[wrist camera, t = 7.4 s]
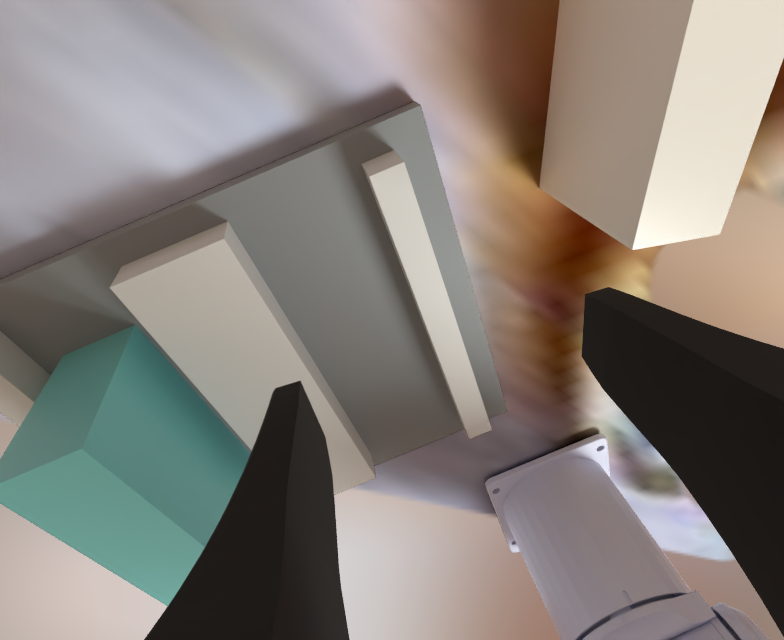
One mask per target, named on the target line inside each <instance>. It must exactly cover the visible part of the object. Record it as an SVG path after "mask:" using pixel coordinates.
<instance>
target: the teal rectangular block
mask: <svg viewBox="0 0 784 640" xmlns="http://www.w3.org/2000/svg"><path fill="white" fill-rule="evenodd" d="M249 456H250V453H249V452H248V450H247V449H246V448H245V447H244V446H243V445H242V444H241V443H240V442H239V440H238V439H237V438H236V437H235V436H234V435H233V434H232V433H231V431H230V430H229V429H228V428H227V427H226V426H225V425H224V424H223V422H222V421H221V420H220V419H219V418H218V417H217V416H216V415H215V413H214V412H213V411H212V410H211V409H210V408H209V407H208V406H207V405H206V403H205V402H204V401H203V400H202V399H201V398H200V397H199V396H198V394H197V393H196V392H195V391H194V390H193V389H192V388H191V387H190V385H189V384H188V383H187V382H186V381H185V380H184V379H183V378H182V376H181V375H180V374H179V373H178V372H177V371H176V370H175V369H174V367H173V366H172V365H171V364H170V363H169V362H168V361H167V360H166V359H165V357H164V356H163V355H162V354H161V353H160V352H159V351H158V350H157V348H156V347H155V346H154V345H153V344H152V343H151V342H150V341H149V339H148V338H147V337H146V336H145V335H144V334H143V333H142V332H141V330H140V329H139V328H138V327H137V326H136V325H133V326H131V327H129V328H126V329H124V330H122V331H119V332H117V333H115V334H112V335H110V336H108V337H105V338H103V339H101V340H98V341H96V342H94V343H91V344H89V345H87V346H84V347H82V348H80V349H77V350H75V351H73V352H70V353H68V354H66V355H63V356H62V358H61V359H60V361H59V363H58V364H57V366H56V368H55V369H54V371H53V373H52V374H51V376H50V378H49V379H48V381H47V383H46V384H45V386H44V388H43V389H42V391H41V393H40V394H39V396H38V398H37V399H36V401H35V403H34V404H33V406H32V408H31V409H30V411H29V413H28V414H27V416H26V418H25V419H24V421H23V422H22V424H21V426H20V427H19V429H18V431H17V433H16V434H15V436H14V438H13V439H12V441H11V443H10V444H9V446H8V447H7V449H6V451H5V452H4V454H3V456H2V458H1V459H0V504H2V505H4V506H5V507H7V508H9V509H10V510H12V511H13V512H15V513H17V514H18V515H20V516H22V517H23V518H25V519H27V520H28V521H30V522H31V523H33V524H35V525H36V526H38V527H40V528H41V529H43V530H44V531H46V532H48V533H49V534H51V535H53V536H55V537H56V538H58V539H59V540H61V541H62V542H64V543H66V544H67V545H69V546H71V547H72V548H74V549H75V550H77V551H79V552H80V553H82V554H84V555H85V556H87V557H89V558H90V559H92V560H94V561H95V562H97V563H98V564H100V565H101V566H103V567H105V568H106V569H108V570H110V571H111V572H113V573H115V574H116V575H118V576H120V577H121V578H123V579H124V580H126V581H128V582H129V583H131V584H133V585H134V586H136V587H137V588H139V589H141V590H142V591H144V592H146V593H147V594H149V595H150V596H152V597H154V598H155V599H157V600H159V601H160V602H162V603H163V604H165V605H167V606H168V605H169V604H170V602H171V601H172V599H173V598H174V596H175V595H176V593H177V592H178V590H179V589H180V587H181V586H182V584H183V582H184V581H185V579H186V577H187V576H188V574H189V573H190V571H191V569H192V568H193V566H194V564H195V563H196V561H197V560H198V558H199V556H200V555H201V553H202V551H203V550H204V548H205V546H206V544H207V542H208V541H209V539H210V537H211V535H212V534H213V532H214V530H215V528H216V526H217V524H218V523H219V521H220V519H221V517H222V515H223V513H224V511H225V509H226V507H227V505H228V503H229V501H230V499H231V496H232V494H233V492H234V490H235V488H236V486H237V484H238V481H239V479H240V477H241V475H242V473H243V471H244V468H245V466H246V464H247V461H248V459H249Z"/></svg>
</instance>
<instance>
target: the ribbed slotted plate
mask: <svg viewBox="0 0 784 640" xmlns="http://www.w3.org/2000/svg"><path fill="white" fill-rule="evenodd" d="M133 325H136V326H137V327H138V328H139V329H140V330H141V332H142V333H143V334H144V335H145V336H146V337H147V338H148V339H149V341H150V342H151V343H152V344H153V345H154V346H155V347H156V348H157V350H158V351H159V352H160V353H161V354H162V355H163V356H164V357H165V359H166V360H167V361H168V362H169V363H170V364H171V365H172V366H173V367H174V369H175V370H176V371H177V372H178V373H179V374H180V375H181V376H182V378H183V379H184V380H185V381H186V382H187V383H188V384H189V385H190V387H191V388H192V389H193V390H194V391H195V392H196V393H197V394H198V396H199V397H200V398H201V399H202V400H203V401H204V402H205V403H206V405H207V406H208V407H209V408H210V409H211V410H212V411H213V412H214V413H215V415H216V416H217V417H218V418H219V419H220V420H221V421H222V422H223V424H224V425H225V426H226V427H227V428H228V429H229V430H230V431H231V433H232V434H233V435H234V436H235V437H236V438H237V439H238V440H239V442H240V443H241V444H242V445H243V446H244V447H245V448H246V449H247V450H248V452H249V453H250V454H251V451H252V449H253V446H254V444H255V441H256V439H257V436H258V434H259V431H260V428H261V425H262V423H263V420H264V417H265V414H266V411H267V408H268V405H269V402H270V399H271V396H272V393H273V391H274V390H275V388H277V387H281V386H284V385H287V384H291V383H294V382H297V381H301V383H302V385H303V387H304V390H305V392H306V394H307V396H308V399H309V401H310V403H311V405H312V408H313V410H314V412H315V414H316V417H317V419H318V421H319V423H320V426H321V428H322V430H323V432H324V435H325V438H326V443H327V448H328V453H329V458H330V464H331V470H332V476H333V489H334V495H335V494H338V493H340V492H343V491H345V490H348V489H350V488H352V487H355V486H357V485H360V484H362V483H365V482H367V481H369V480H372V479H374V478H376V475H375V470H374V466H376V465H378V464H380V463H383V462H385V461H388V460H390V459H392V458H395V457H397V456H400V455H402V454H405V453H407V452H409V451H412V450H414V449H417V448H419V447H422V446H424V445H426V444H429V443H431V442H434V441H436V440H438V439H441V438H443V437H446V436H448V435H451V434H453V433H455V432H458V431H460V430H463V429H465V431H466V433H467V435H468V437H469V439H471V438H474V437H476V436H478V435H481V434H483V433H486V432H488V431H490V430H492V428H491V425H490V422H489V418H492V417H494V416H496V415H499V414H501V413H504V412H506V411H507V408H506V404H505V401H504V397H503V394H502V390H501V387H500V383H499V380H498V376H497V373H496V369H495V366H494V362H493V358H492V355H491V351H490V348H489V344H488V341H487V337H486V334H485V330H484V327H483V323H482V320H481V316H480V313H479V309H478V306H477V302H476V299H475V295H474V291H473V288H472V284H471V281H470V277H469V274H468V270H467V267H466V263H465V260H464V256H463V253H462V249H461V246H460V242H459V239H458V235H457V231H456V228H455V224H454V221H453V217H452V214H451V210H450V207H449V203H448V200H447V196H446V193H445V189H444V186H443V182H442V179H441V175H440V171H439V168H438V164H437V161H436V157H435V154H434V150H433V147H432V143H431V140H430V136H429V133H428V129H427V126H426V122H425V119H424V115H423V111H422V108H421V105H420V104H418V103H417V102H415V101H414V102H411V103H409V104H407V105H404V106H402V107H400V108H398V109H395V110H393V111H391V112H388V113H386V114H384V115H381V116H379V117H377V118H374V119H372V120H370V121H367V122H365V123H363V124H360V125H358V126H356V127H353V128H351V129H349V130H346V131H344V132H342V133H339V134H337V135H335V136H332V137H330V138H328V139H325V140H323V141H321V142H318V143H316V144H314V145H311V146H309V147H307V148H304V149H302V150H300V151H297V152H295V153H293V154H290V155H288V156H286V157H283V158H281V159H279V160H277V161H274V162H272V163H270V164H267V165H265V166H263V167H260V168H258V169H256V170H253V171H251V172H249V173H246V174H244V175H242V176H239V177H237V178H235V179H232V180H230V181H228V182H225V183H223V184H221V185H218V186H216V187H214V188H211V189H209V190H207V191H204V192H202V193H200V194H197V195H195V196H193V197H190V198H188V199H186V200H183V201H181V202H179V203H176V204H174V205H172V206H169V207H167V208H165V209H163V210H160V211H158V212H156V213H153V214H151V215H149V216H146V217H144V218H142V219H139V220H137V221H135V222H132V223H130V224H128V225H125V226H123V227H121V228H118V229H116V230H114V231H111V232H109V233H107V234H104V235H102V236H100V237H97V238H95V239H93V240H90V241H88V242H86V243H83V244H81V245H79V246H76V247H74V248H72V249H69V250H67V251H65V252H62V253H60V254H58V255H55V256H53V257H51V258H48V259H46V260H44V261H42V262H39V263H37V264H35V265H32V266H30V267H28V268H25V269H23V270H21V271H18V272H16V273H14V274H11V275H9V276H7V277H4V278H2V279H0V413H1V414H3V415H4V416H5V417H7V418H8V419H9V420H11V421H12V422H13V423H15V424H16V425H17V426H18V427H20V426H21V424H22V422H23V421H24V419H25V418H26V416H27V414H28V413H29V411H30V409H31V408H32V406H33V404H34V403H35V401H36V399H37V398H38V396H39V394H40V393H41V391H42V389H43V388H44V386H45V384H46V383H47V381H48V379H49V378H50V376H51V374H52V373H53V371H54V369H55V368H56V366H57V364H58V363H59V361H60V359H61V358H62V356H63V355H66V354H68V353H70V352H73V351H75V350H77V349H80V348H82V347H84V346H87V345H89V344H91V343H94V342H96V341H98V340H101V339H103V338H105V337H108V336H110V335H112V334H115V333H117V332H119V331H122V330H124V329H126V328H129V327H131V326H133Z"/></svg>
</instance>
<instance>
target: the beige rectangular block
mask: <svg viewBox="0 0 784 640" xmlns="http://www.w3.org/2000/svg"><path fill="white" fill-rule="evenodd" d="M783 58H784V0H560V3H559V12H558V22H557V31H556V40H555V49H554V58H553V67H552V76H551V85H550V94H549V104H548V113H547V122H546V131H545V140H544V149H543V158H542V167H541V176H540V185H539V188H540V189H541V190H543V191H544V192H546V193H547V194H549V195H550V196H552V197H553V198H555V199H556V200H558V201H559V202H561V203H562V204H564V205H565V206H567V207H568V208H570V209H571V210H573V211H574V212H576V213H577V214H579V215H580V216H582V217H583V218H585V219H586V220H588V221H589V222H591V223H592V224H594V225H595V226H597V227H598V228H600V229H601V230H603V231H604V232H606V233H607V234H609V235H610V236H612V237H613V238H615V239H616V240H618V241H619V242H621V243H622V244H624V245H625V246H627V247H628V248H630V249H631V250H636V249H641V248H647V247H652V246H658V245H664V244H669V243H674V242H680V241H686V240H691V239H697V238H702V237H708V236H714V235H719V234H720V233H721V230H722V227H723V225H724V222H725V219H726V216H727V213H728V211H729V208H730V205H731V202H732V199H733V197H734V194H735V191H736V188H737V186H738V183H739V180H740V177H741V175H742V172H743V169H744V166H745V163H746V161H747V158H748V155H749V152H750V150H751V147H752V144H753V141H754V138H755V136H756V133H757V130H758V127H759V125H760V122H761V119H762V116H763V113H764V111H765V108H766V105H767V102H768V100H769V97H770V94H771V91H772V88H773V86H774V83H775V80H776V77H777V75H778V72H779V69H780V66H781V63H782V61H783Z"/></svg>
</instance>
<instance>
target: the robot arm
mask: <svg viewBox="0 0 784 640" xmlns="http://www.w3.org/2000/svg"><path fill="white" fill-rule="evenodd" d="M582 358H583V359H584V361H585V362H586V364H587V365H588V367H589V369H590V370H591V372H592V373H593V375H594V376H595V378H596V379H597V381H598V382H599V384H600V385H601V387H602V388H603V389H604V391H605V392H606V393H607V394H608V395H609V396H610V398H611V399H612V400H613V401H614V402H615V403H616V405H617V406H618V407H619V408H620V409H621V410H622V411H623V413H624V414H625V415H626V416H627V417H628V418H629V419H630V421H631V422H632V423H633V424H634V425H635V426H636V427H637V429H638V430H639V431H640V432H641V433H642V434H643V435H644V436H645V438H646V439H647V440H648V441H649V442H650V443H651V444H652V445H653V447H654V448H655V449H656V450H657V451H658V452H659V453H660V455H661V456H662V457H663V458H664V459H665V460H666V462H667V463H668V464H669V465H670V466H671V468H672V469H673V470H674V471H675V473H676V474H677V475H678V476H679V478H680V479H681V480H682V482H683V483H684V485H685V486H686V487H687V489H688V490H689V492H690V493H691V494H692V496H693V497H694V498H695V500H696V501H697V503H698V504H699V505H700V507H701V508H702V510H703V511H704V512H705V514H706V515H707V517H708V518H709V520H710V521H711V523H712V524H713V526H714V527H715V529H716V530H717V532H718V533H719V535H720V536H721V537H722V539H723V540H724V542H725V543H726V545H727V546H728V548H729V549H730V551H731V552H732V554H733V555H734V557H735V558H736V560H737V562H738V563H739V565H740V566H741V568H742V569H743V571H744V573H745V574H746V576H747V577H748V579H749V580H750V582H751V584H752V585H753V587H754V588H755V590H756V591H757V593H758V594H759V596H760V598H761V599H762V601H763V603H764V604H765V606H766V608H767V609H768V611H769V613H770V615H771V616H772V618H773V619H774V621H775V623H776V624H777V626H778V628H779V630H780V631H781V633H782V635H783V636H784V349H783V348H780V347H776V346H773V345H769V344H766V343H763V342H759V341H756V340H753V339H750V338H747V337H744V336H741V335H738V334H735V333H732V332H729V331H726V330H723V329H719V328H717V327H714V326H711V325H708V324H706V323H703V322H700V321H697V320H695V319H692V318H689V317H687V316H684V315H681V314H678V313H676V312H674V311H671V310H668V309H666V308H663V307H661V306H658V305H656V304H653V303H650V302H648V301H645V300H643V299H640V298H637V297H635V296H632V295H630V294H627V293H624V292H621V291H619V290H616V289H613V288H609V287H608V288H604V289H601V290H598V291H594V292H591V293H588V294H585V308H584V326H583V344H582ZM485 486H486V489H487V491H488V494H489V497H490V499H491V502H492V504H493V507H494V510H495V512H496V515H497V517H498V520H499V522H500V525H501V528H502V530H503V533H504V535H505V538H506V540H507V543H508V546H509V548H510V550H511V552H514V553H515V552H519V551H520V552H521V554H522V556H523V559H524V561H525V563H526V565H527V567H528V570H529V572H530V574H531V576H532V578H533V581H534V583H535V585H536V587H537V589H538V591H539V594H540V596H541V598H542V600H543V602H544V604H545V606H546V609H547V611H548V613H549V615H550V618H551V620H552V622H553V624H554V626H555V629H556V631H557V633H558V635H559V637H560V639H561V640H770V639H769V638H768V637H767V636H766V635H765V634H764V633H763V631H762V630H761V629H760V628H759V627H758V626H757V625H756V624H755V623H754V622H753V621H752V620H751V619H750V618H749V617H748V616H747V615H746V614H745V613H743V612H742V611H740V610H737V609H734V608H732V607H729V606H728V605H726V604H725V603H717V604H715V605H714V606H712V607H711V608H710V606H709V605H708V604H707V602H706V601H705V600H704V598H703V597H702V596H701V594H700V593H699V591H697V590H695V591H691V590H690V588H689V587H688V586H687V584H686V583H685V581H684V580H683V579H682V577H681V576H680V574H679V573H678V572H677V570H676V569H675V567H674V566H673V565H672V563H671V562H670V561H669V559H668V558H667V556H666V555H665V554H664V552H663V551H662V549H661V548H660V547H659V545H658V544H657V543H656V541H655V540H654V538H653V537H652V536H651V534H650V533H649V531H648V530H647V529H646V527H645V526H644V525H643V523H642V522H641V520H640V519H639V518H638V516H637V515H636V513H635V512H634V511H633V509H632V508H631V507H630V505H629V504H628V502H627V501H626V500H625V498H624V497H623V495H622V494H621V493H620V491H619V490H618V489H617V487H616V486H615V484H614V483H613V482H612V480H611V479H610V468H609V456H608V444H607V439H606V437H605V436H604V435H603V434H596V435H593V436H591V437H589V438H586V439H584V440H581V441H579V442H576V443H574V444H572V445H569V446H567V447H564V448H562V449H559V450H557V451H555V452H552V453H550V454H547V455H545V456H542V457H540V458H537V459H535V460H533V461H530V462H528V463H525V464H523V465H520V466H518V467H516V468H513V469H511V470H508V471H506V472H503V473H501V474H499V475H496V476H494V477H491V478H489V479H488V480H487V481H486V483H485ZM144 640H349V634H348V628H347V622H346V616H345V610H344V604H343V597H342V591H341V583H340V574H339V564H338V548H337V534H336V519H335V504H334V489H333V476H332V470H331V464H330V458H329V453H328V448H327V443H326V438H325V435H324V432H323V430H322V428H321V426H320V423H319V421H318V419H317V417H316V414H315V412H314V410H313V408H312V405H311V403H310V401H309V399H308V396H307V394H306V392H305V390H304V387H303V385H302V383H301V381H297V382H294V383H291V384H287V385H284V386H281V387H277V388H275V390H274V391H273V393H272V396H271V399H270V402H269V405H268V408H267V411H266V414H265V417H264V420H263V423H262V425H261V428H260V431H259V434H258V436H257V439H256V441H255V444H254V446H253V449H252V451H251V454H250V456H249V459H248V461H247V464H246V466H245V468H244V471H243V473H242V475H241V477H240V479H239V481H238V484H237V486H236V488H235V490H234V492H233V494H232V496H231V499H230V501H229V503H228V505H227V507H226V509H225V511H224V513H223V515H222V517H221V519H220V521H219V523H218V524H217V526H216V528H215V530H214V532H213V534H212V535H211V537H210V539H209V541H208V542H207V544H206V546H205V548H204V550H203V551H202V553H201V555H200V556H199V558H198V560H197V561H196V563H195V564H194V566H193V568H192V569H191V571H190V573H189V574H188V576H187V577H186V579H185V581H184V582H183V584H182V586H181V587H180V589H179V590H178V592H177V593H176V595H175V596H174V598H173V599H172V601H171V602H170V604H169V605H168V607H167V608H166V610H165V611H164V613H163V614H162V616H161V617H160V618H159V620H158V621H157V623H156V624H155V625H154V627H153V628H152V630H151V631H150V632H149V634H148V635H147V637H146V638H145V639H144Z"/></svg>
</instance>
